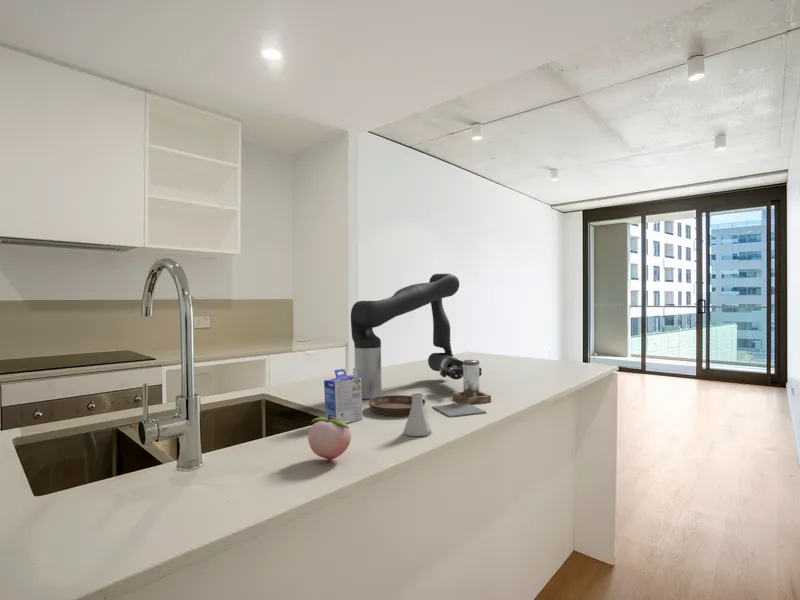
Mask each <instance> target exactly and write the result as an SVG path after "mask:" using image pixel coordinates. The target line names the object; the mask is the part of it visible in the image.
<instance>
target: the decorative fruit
mask: <svg viewBox="0 0 800 600" xmlns="http://www.w3.org/2000/svg"><path fill="white" fill-rule="evenodd" d="M311 423H313V424H312V426H311V427H310V429H309V432H308V434H307V440H308V444H309V446H310V449H311V450H312V452H313V453H314V454H315V455H316V456H318V457H320V458H323V459H326V460H327V461H333V460H335V459H337V458H338V457H340V456H342V454H344V453H345V451H347V450H348V447H350V443H351V440H352V432H351V429H350V427H349V425H348V423H345V422H344V421H342V420H340V419H332V420H330V414H328V418H326V416H325V417H324V416H321V417H316V418H313V419H312V420H311Z"/></svg>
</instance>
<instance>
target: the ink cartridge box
mask: <svg viewBox="0 0 800 600" xmlns="http://www.w3.org/2000/svg"><path fill="white" fill-rule="evenodd" d="M341 372H342V374H341ZM338 373H340V374H338ZM334 374H335V377H334V378H331V379H329V378H328V379H325V380H323V385H324V386H323V387H324V407H325V409H324V411H325V418H328V414H330V420H332V419H340V420H342V421H344V422H345V423H346V424H348V423H349V424H350V423H353V422H356V421H359V420H362V419H363V399H362V388H361V377H359V376H353V374H351V375H348V374H347V371H346V370H345V368H341V369H335V370H334Z"/></svg>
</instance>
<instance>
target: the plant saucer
mask: <svg viewBox="0 0 800 600" xmlns="http://www.w3.org/2000/svg"><path fill="white" fill-rule="evenodd" d="M426 402H427V401H426V399H424V398H422V403H423V407H424V406H425V405H426ZM367 404H368V405H369V407H370V408H371V410H372V411H373V412H375V413H376V414H379V415H384V416H389V415H390V417H394V416H395V417H401V416H400V415H404V416H409V414H410V411H411V406H412V397H411V395H402V394H401V395H398V394H397V395H383V396H381V397H376V398H373V399H368V400H367Z"/></svg>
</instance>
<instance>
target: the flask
mask: <svg viewBox="0 0 800 600" xmlns="http://www.w3.org/2000/svg"><path fill="white" fill-rule="evenodd" d="M410 396H411V397H412V406H411V411H410V414H409V415H408V417H407V420H406V423H405V426H404V430H403V433H404V435H405V436H411V437H424V436H426V437H427V436H429V435H431V434H432V433H433V432H432V430H431V429H432V428H431V426H430V423H429V420H428V418H427V416H426V413H425V408H424V406H423V403H422V399H423V397H424V393H421V392H414V393H413V392H412V393H411V394H410Z"/></svg>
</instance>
